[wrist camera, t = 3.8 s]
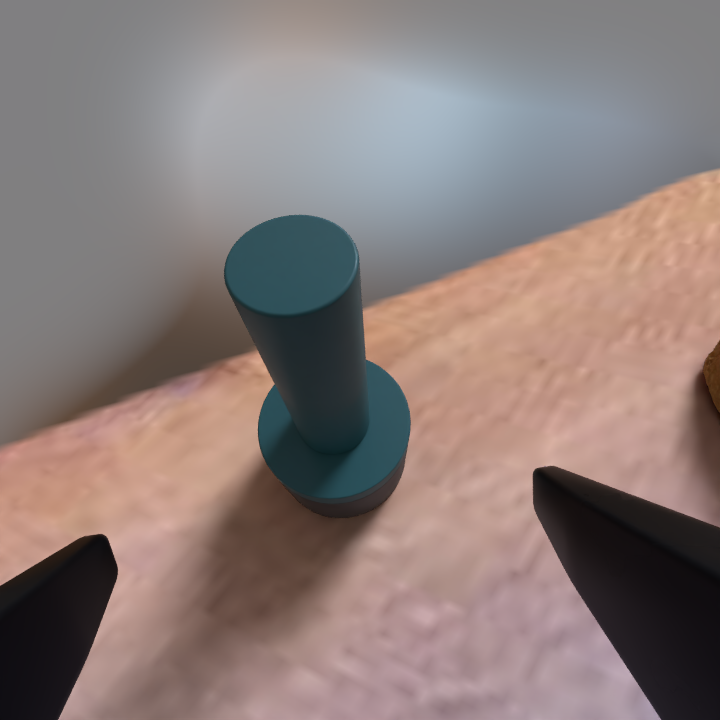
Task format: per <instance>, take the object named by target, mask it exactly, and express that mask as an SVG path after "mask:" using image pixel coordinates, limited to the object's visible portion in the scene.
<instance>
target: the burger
mask: <svg viewBox="0 0 720 720" xmlns="http://www.w3.org/2000/svg"><path fill="white" fill-rule="evenodd" d="M703 373H704V375H705V380H706V384H707V385H708V388H709V392H710V394H711V397H712V400H713V402H714V404H715V406H716V408H717V410H718V411H719V413H720V341H719V342H718V344H717V345H716V347H715V348H714V350H713V352H711V353H710V354H709V355H708V357H707V359H706V361H705V364H704V367H703Z"/></svg>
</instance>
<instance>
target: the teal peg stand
mask: <svg viewBox="0 0 720 720" xmlns="http://www.w3.org/2000/svg"><path fill="white" fill-rule="evenodd" d="M224 279H225V284H226V287H227V289H228V292H229V294H230V296H231V298H232V300H233V302H234V303H235V306H236V308H237V310H238V312H239V313H240V315H241V318H242V320H243V322H244V324H245V325H246V328H247V329H248V331H249V333H250V335H251V337H252V339H253V341H254V343H255V345H256V347H257V349H258V351H259V353H260V355H261V357H262V359H263V361H264V363H265V365H266V367H267V369H268V371H269V373H270V375H271V377H272V379H273V381H274V383H275V385H274V386H273V387H272V389H271V390H270V392H269V393H268V395H267V397H266V399H265V401H264V403H263V406H262V409H261V412H260V416H259V422H258V439H259V444H260V449H261V452H262V455H263V457H264V459H265V461H266V463H267V465H268V467H269V468H270V469H271V471H272V472H273V473H274V475H275V476H276V477H277V478H278V479H279V480H280V482H281V483H282V484H283V485H284V486H285V487H286V488H287V489H288V491H289V492H290V493H291V494H292V495H293V496H294V497H295V498H296V499H297V500H298V501H299V503H301V504H302V505H303V506H305V507H306V508H308V509H309V510H311V511H313V512H315V513H318V514H320V515H323V516H327V517H334V518H348V517H354V516H358V515H361V514H364V513H366V512H368V511H370V510H373V509H374V508H376V507H377V506H379V505H380V504H381V503H382V502H384V501H385V500H386V499H387V498H388V497H389V496H390V494H391V493H392V492H393V491H394V489H395V488H396V486H397V484H398V482H399V480H400V478H401V476H402V472H403V469H404V464H405V458H406V452H407V447H408V441H409V435H410V425H411V420H410V411H409V407H408V403H407V400H406V398H405V395H404V393H403V392H402V390H401V388H400V386H399V385H398V384H397V382H396V381H395V380H394V379H393V378H392V377H391V376H390V375H389V374H388V373H387V372H386V371H385V370H383V369H382V368H381V367H379V366H378V365H376V364H374V363H372V362H370V361H368V360H366V356H365V341H364V326H363V310H362V295H361V280H360V266H359V255H358V250H357V248H356V245H355V243H354V242H353V240H352V238H351V237H350V236H349V235H348V234H347V232H346V231H345V230H343V229H342V228H341V227H340V226H338V225H336V224H335V223H333V222H331V221H329V220H326V219H323V218H320V217H315V216H309V215H289V216H283V217H278V218H274V219H271V220H268V221H266V222H263V223H261V224H259V225H257V226H255V227H254V228H252V229H251V230H249V231H248V232H246V233H245V234H244V235H243V236H242V237H241V238H240V239H239V240H238V241H237V242H236V243H235V244H234V246H233V247H232V249H231V251H230V252H229V254H228V257H227V259H226V263H225V269H224Z"/></svg>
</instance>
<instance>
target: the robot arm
mask: <svg viewBox="0 0 720 720" xmlns="http://www.w3.org/2000/svg"><path fill="white" fill-rule="evenodd" d="M533 504H534V509H535V512H536V514H537V516H538V518H539V520H540V522H541V524H542V526H543V528H544V530H545V532H546V534H547V536H548V538H549V540H550V542H551V544H552V546H553V548H554V550H555V551H556V553H557V555H558V557H559V559H560V561H561V563H562V565H563V567H564V569H565V571H566V573H567V574H568V576H569V578H570V580H571V582H572V583H573V585H574V586H575V588H576V590H577V591H578V593H579V594H580V596H581V597H582V599H583V600H584V602H585V604H586V605H587V607H588V608H589V610H590V611H591V613H592V614H593V616H594V617H595V619H596V620H597V622H598V623H599V625H600V627H601V628H602V630H603V631H604V633H605V634H606V636H607V637H608V639H609V640H610V642H611V643H612V645H613V646H614V648H615V650H616V651H617V653H618V654H619V656H620V657H621V659H622V660H623V662H624V663H625V665H626V666H627V668H628V669H629V671H630V673H631V674H632V676H633V677H634V679H635V680H636V682H637V683H638V685H639V686H640V688H641V689H642V691H643V692H644V694H645V696H646V697H647V699H648V700H649V702H650V703H651V705H652V706H653V708H654V709H655V711H656V712H657V714H658V715H659V717H660V719H661V720H720V528H719V527H717V526H714V525H711V524H709V523H706V522H703V521H701V520H698V519H695V518H693V517H690V516H687V515H684V514H682V513H679V512H676V511H674V510H671V509H668V508H666V507H663V506H660V505H658V504H655V503H652V502H650V501H647V500H644V499H642V498H639V497H636V496H633V495H631V494H628V493H625V492H623V491H620V490H617V489H615V488H612V487H609V486H607V485H604V484H601V483H599V482H596V481H593V480H591V479H588V478H585V477H583V476H580V475H577V474H575V473H572V472H569V471H566V470H564V469H561V468H558V467H556V466H547V467H541V468H536V469H535V470H534V472H533ZM117 575H118V567H117V563H116V561H115V558H114V555H113V552H112V549H111V546H110V543H109V540H108V538H107V537H106V536H105V535H103V534H97V535H90V536H84V537H81V538H79V539H78V540H76V541H74V542H73V543H71V544H69V545H68V546H66V547H64V548H63V549H61V550H59V551H58V552H56V553H54V554H53V555H51V556H49V557H48V558H46V559H44V560H43V561H41V562H39V563H38V564H36V565H34V566H33V567H31V568H29V569H28V570H26V571H24V572H23V573H21V574H19V575H18V576H16V577H14V578H13V579H11V580H9V581H8V582H6V583H4V584H3V585H1V586H0V720H58V719H59V717H60V715H61V713H62V710H63V708H64V706H65V704H66V702H67V700H68V698H69V696H70V694H71V692H72V689H73V687H74V685H75V683H76V681H77V679H78V677H79V675H80V673H81V670H82V668H83V666H84V664H85V661H86V659H87V657H88V654H89V652H90V649H91V647H92V644H93V642H94V639H95V636H96V634H97V631H98V628H99V626H100V623H101V620H102V618H103V615H104V612H105V609H106V607H107V604H108V601H109V599H110V596H111V593H112V591H113V588H114V585H115V582H116V579H117Z"/></svg>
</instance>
